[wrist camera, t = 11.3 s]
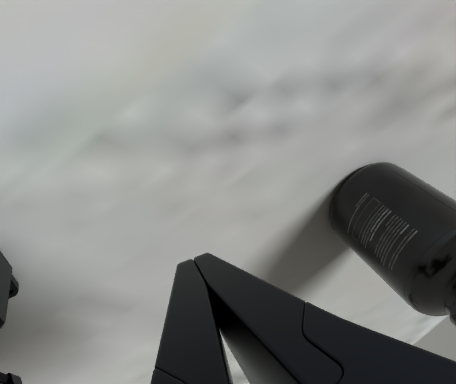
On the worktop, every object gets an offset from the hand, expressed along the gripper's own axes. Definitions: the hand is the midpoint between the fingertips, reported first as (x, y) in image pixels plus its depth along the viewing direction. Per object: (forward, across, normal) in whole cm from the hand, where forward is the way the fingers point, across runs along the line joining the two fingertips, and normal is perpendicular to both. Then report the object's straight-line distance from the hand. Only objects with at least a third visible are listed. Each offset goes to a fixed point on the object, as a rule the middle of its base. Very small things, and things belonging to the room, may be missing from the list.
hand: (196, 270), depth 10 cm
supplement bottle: (+12, +15, -12) cm, 23 cm away
